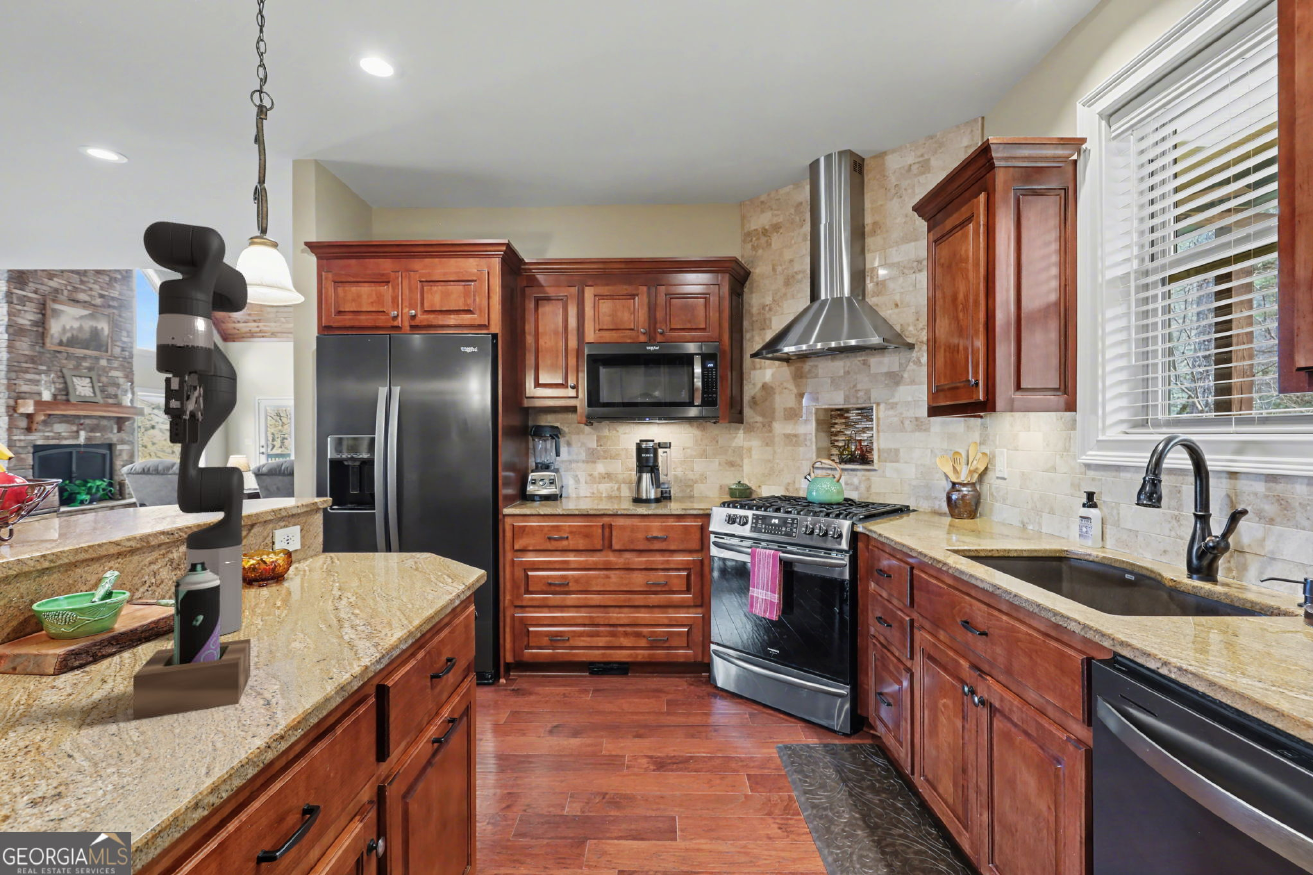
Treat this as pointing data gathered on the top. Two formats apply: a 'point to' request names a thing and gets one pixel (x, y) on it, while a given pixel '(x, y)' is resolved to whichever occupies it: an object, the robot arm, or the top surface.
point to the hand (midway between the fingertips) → (184, 443)
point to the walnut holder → (191, 682)
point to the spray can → (197, 616)
